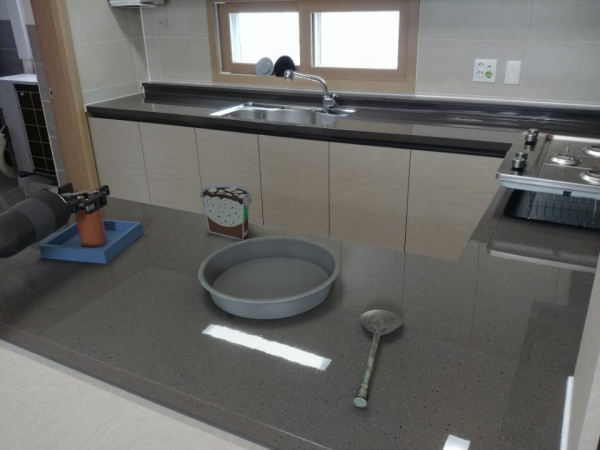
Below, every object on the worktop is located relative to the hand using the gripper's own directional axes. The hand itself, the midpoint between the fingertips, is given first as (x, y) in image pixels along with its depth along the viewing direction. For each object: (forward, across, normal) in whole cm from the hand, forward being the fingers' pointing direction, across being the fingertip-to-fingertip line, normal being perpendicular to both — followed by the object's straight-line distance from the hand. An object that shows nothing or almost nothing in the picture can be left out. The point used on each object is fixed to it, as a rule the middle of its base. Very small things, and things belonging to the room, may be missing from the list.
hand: (89, 188), depth 111 cm
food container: (+10, -27, +12) cm, 31 cm away
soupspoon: (-28, -62, +12) cm, 69 cm away
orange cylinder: (-2, 0, +12) cm, 12 cm away
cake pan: (-12, -42, +12) cm, 45 cm away
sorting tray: (-2, 0, +12) cm, 12 cm away
